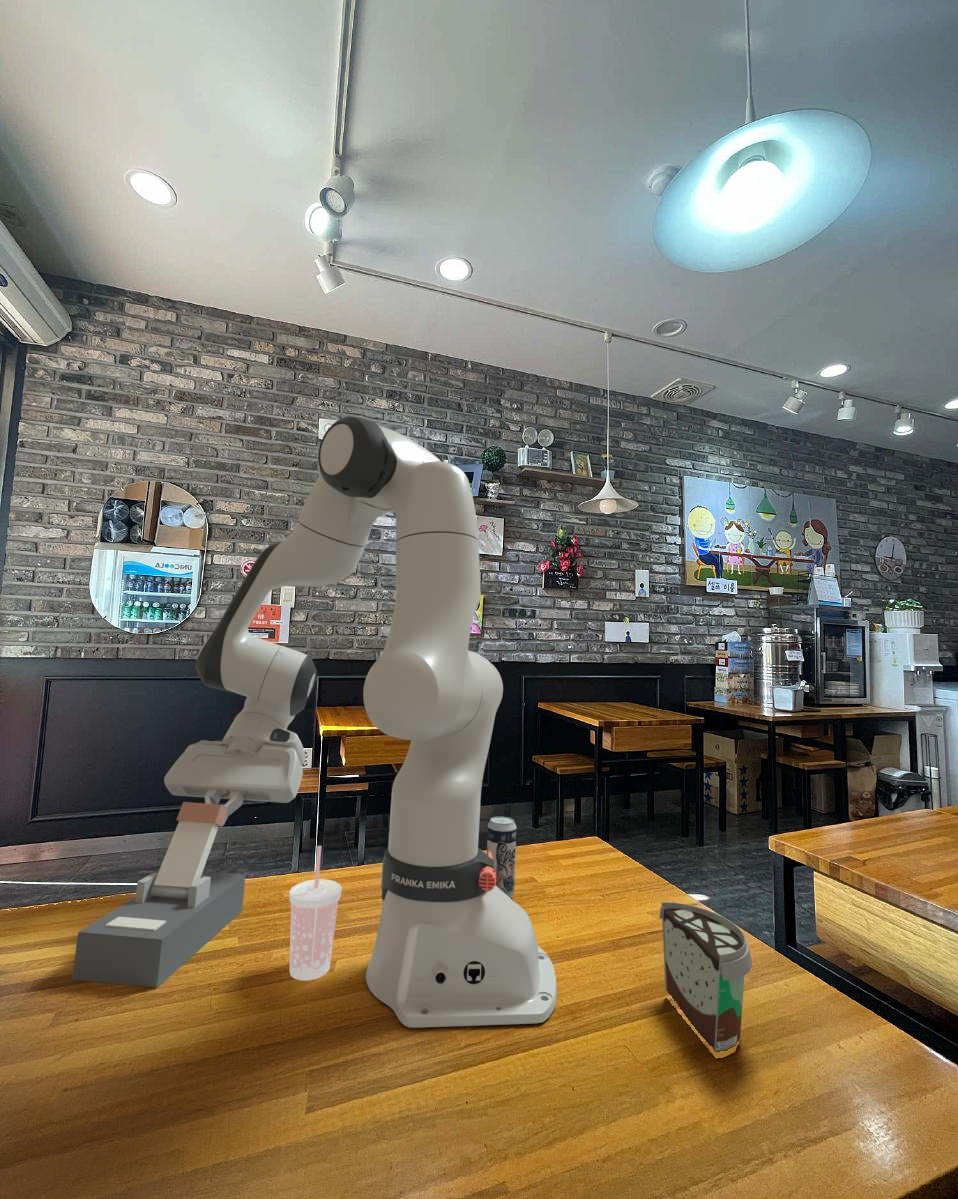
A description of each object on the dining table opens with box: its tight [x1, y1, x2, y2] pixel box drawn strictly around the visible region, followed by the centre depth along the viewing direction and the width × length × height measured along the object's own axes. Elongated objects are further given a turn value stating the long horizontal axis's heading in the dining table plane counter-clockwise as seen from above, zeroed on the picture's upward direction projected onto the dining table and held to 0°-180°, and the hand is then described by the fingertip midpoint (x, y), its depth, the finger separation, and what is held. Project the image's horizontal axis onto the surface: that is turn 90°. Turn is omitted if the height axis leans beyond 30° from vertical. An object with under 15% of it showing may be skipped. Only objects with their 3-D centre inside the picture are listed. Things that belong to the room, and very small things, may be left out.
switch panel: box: [71, 870, 246, 989], centre depth 67 cm, size 10×18×8 cm, turn 176°
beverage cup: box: [288, 845, 343, 981], centre depth 63 cm, size 6×6×14 cm
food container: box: [658, 901, 753, 1052], centre depth 56 cm, size 12×6×10 cm, turn 9°
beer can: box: [486, 816, 517, 898], centre depth 84 cm, size 5×5×12 cm
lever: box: [151, 801, 228, 899], centre depth 70 cm, size 6×2×12 cm
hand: (211, 822), depth 75 cm, fingers closed
